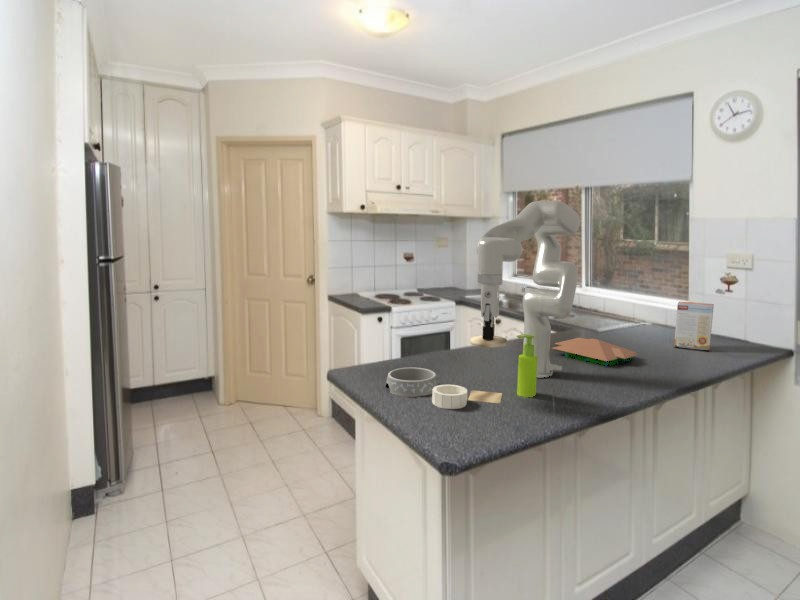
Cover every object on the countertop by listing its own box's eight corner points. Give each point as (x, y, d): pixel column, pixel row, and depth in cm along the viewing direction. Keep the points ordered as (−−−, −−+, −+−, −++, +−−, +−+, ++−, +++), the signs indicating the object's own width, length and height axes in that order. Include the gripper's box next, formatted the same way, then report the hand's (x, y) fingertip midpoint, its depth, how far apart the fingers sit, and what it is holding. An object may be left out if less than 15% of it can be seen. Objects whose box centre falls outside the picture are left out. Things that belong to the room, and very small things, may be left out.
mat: (502, 394, 167) (502, 393, 167) (500, 404, 158) (500, 403, 157) (471, 391, 170) (471, 390, 170) (467, 401, 160) (467, 400, 160)
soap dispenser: (511, 392, 169) (514, 333, 166) (532, 392, 169) (535, 332, 166) (517, 398, 163) (519, 337, 160) (538, 398, 164) (541, 336, 161)
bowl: (468, 400, 161) (469, 386, 161) (463, 411, 151) (464, 396, 151) (436, 396, 164) (436, 383, 163) (429, 408, 154) (429, 393, 153)
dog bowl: (394, 400, 161) (395, 383, 161) (380, 382, 179) (380, 367, 178) (445, 395, 166) (446, 379, 165) (426, 379, 184) (427, 364, 183)
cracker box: (709, 349, 232) (714, 303, 229) (709, 352, 227) (714, 305, 224) (674, 345, 239) (678, 300, 236) (673, 347, 234) (677, 302, 231)
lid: (507, 339, 165) (508, 321, 164) (505, 348, 155) (505, 328, 154) (472, 337, 168) (473, 319, 167) (468, 346, 158) (468, 326, 157)
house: (613, 371, 197) (615, 350, 196) (542, 353, 223) (543, 334, 222) (643, 361, 211) (645, 342, 210) (573, 346, 237) (574, 328, 236)
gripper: (500, 283, 149) (498, 345, 152) (504, 276, 165) (502, 332, 168) (474, 282, 151) (473, 343, 154) (480, 276, 167) (479, 331, 170)
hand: (488, 337), depth 161 cm, fingers closed on lid, 3 cm apart
